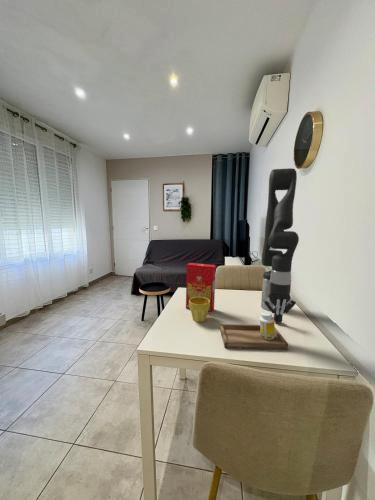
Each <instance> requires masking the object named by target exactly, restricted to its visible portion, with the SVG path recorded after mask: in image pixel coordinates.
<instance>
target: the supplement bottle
mask: <svg viewBox="0 0 375 500" xmlns="http://www.w3.org/2000/svg"><path fill="white" fill-rule="evenodd" d="M260 313H261V314H260V315H261V316H259V325H260V332H261V337H262V338H264V339H267V340H271V339H274V338H275V328H276V327H275V322H274V318H273V317H274V316H273V313H272V312H271V311H269V310H264V311H261V312H260Z"/></svg>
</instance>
